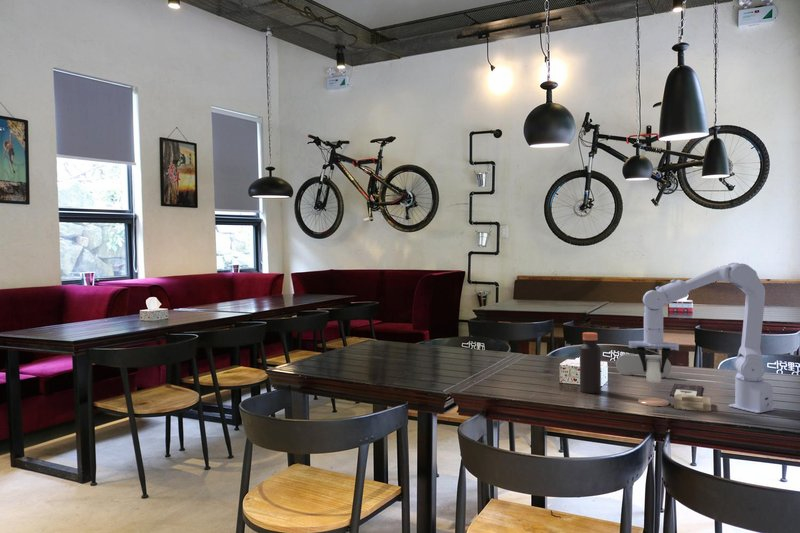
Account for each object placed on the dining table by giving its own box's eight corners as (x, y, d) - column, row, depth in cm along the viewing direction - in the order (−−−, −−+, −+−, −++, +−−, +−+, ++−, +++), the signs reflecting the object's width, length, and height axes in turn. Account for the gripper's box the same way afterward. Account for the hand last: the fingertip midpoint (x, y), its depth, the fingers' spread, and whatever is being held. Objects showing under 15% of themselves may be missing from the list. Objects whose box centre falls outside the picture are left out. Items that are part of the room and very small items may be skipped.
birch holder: (709, 403, 193) (709, 397, 193) (711, 411, 184) (711, 405, 184) (674, 400, 197) (674, 394, 197) (674, 408, 188) (674, 402, 188)
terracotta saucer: (675, 404, 193) (675, 402, 193) (655, 407, 189) (655, 406, 189) (651, 397, 201) (651, 396, 201) (631, 401, 197) (631, 399, 197)
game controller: (671, 377, 231) (671, 355, 231) (670, 379, 229) (670, 356, 229) (616, 373, 240) (616, 352, 240) (615, 374, 238) (615, 353, 238)
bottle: (600, 394, 207) (600, 334, 206) (579, 393, 209) (578, 334, 209) (601, 389, 213) (600, 332, 213) (580, 388, 216) (580, 331, 215)
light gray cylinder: (664, 381, 194) (663, 359, 194) (654, 383, 192) (654, 360, 192) (652, 379, 198) (652, 357, 198) (643, 380, 196) (642, 358, 196)
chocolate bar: (702, 386, 215) (700, 397, 199) (702, 388, 215) (700, 400, 199) (674, 383, 219) (669, 394, 203) (674, 386, 219) (669, 397, 203)
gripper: (628, 329, 194) (628, 372, 194) (678, 331, 188) (678, 375, 188) (629, 326, 200) (629, 368, 201) (678, 328, 194) (678, 371, 195)
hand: (653, 371), depth 195 cm, fingers closed on light gray cylinder, 4 cm apart
